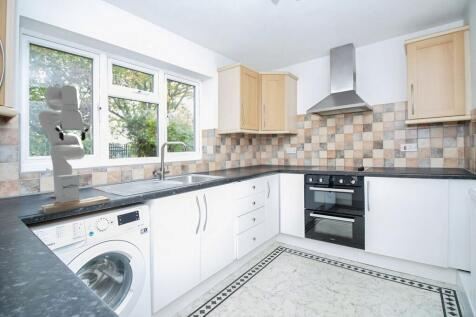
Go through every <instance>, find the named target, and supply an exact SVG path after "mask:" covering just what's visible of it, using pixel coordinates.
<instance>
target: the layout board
mask: <svg viewBox="0 0 476 317" xmlns="http://www.w3.org/2000/svg"><path fill="white" fill-rule="evenodd" d="M110 201H111V200H110V198H109V197H106V196H104V195H100V196H92V197H87V198H81V199H80V198H79V200H78V201H72V202H66V203H59V202H54V203H50V204H43V205H41V206H40V208H41V211H42V212H43V213H45V214H46V215H48V214H51V213H52V214H53V213H58V212H63V211H68V210H75V209H80V208H85V207H90V206H97V205H101V204H102V205H103V204H107V203H110Z"/></svg>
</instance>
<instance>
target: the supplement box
mask: <svg viewBox="0 0 476 317" xmlns="http://www.w3.org/2000/svg"><path fill="white" fill-rule="evenodd" d="M55 188H56V197H55V199H56V200H55V201H56V202H59V203H66V202H72V201H78V200H80V188H79V175H78V174H73V175H61V176H55Z"/></svg>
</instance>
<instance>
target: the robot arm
mask: <svg viewBox="0 0 476 317" xmlns="http://www.w3.org/2000/svg"><path fill="white" fill-rule="evenodd" d="M79 98H80V97H79V89H78V87H77V86H74V85H70V84H64V85H61V87H60V86H53V85H52V86H48V87H47V88H45V90H44V99H45V101H46V102H45V103H46V106H47V107H48V108H49V109H51V110H42V111H40V112H39V113H38V121H39V123H40V124H39V125H40V126H41V128H42V129H43V130H44V132H45V133H46V136H47V138H48V141H49V144H50V149H49V154H50V158H51V163H52V175H53V186H54V187H53V189H54V193H53V194H51V197H52V198H56V188H55V176H61V175H74V174H73V166H72V165H71V164H70V163H69V161H71V160H76V161H77V160H82V159H83V158H84V157H85V154H86V152H85V149H84V146H83V144H82V141H85V140H86V133H87V132H88V131H89V130H90V128H91V125H89V124H87V123H85V122H84V119H83V114H82V112H81V111H83V107H80V101H79ZM84 128H85V129H84ZM64 131H80V133H81V134H80V136H81V138H80V136H79V135H78V134H75V133H66V132H65V133H64Z"/></svg>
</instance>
